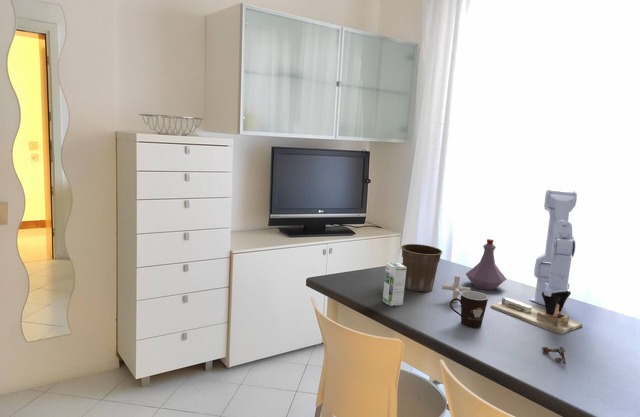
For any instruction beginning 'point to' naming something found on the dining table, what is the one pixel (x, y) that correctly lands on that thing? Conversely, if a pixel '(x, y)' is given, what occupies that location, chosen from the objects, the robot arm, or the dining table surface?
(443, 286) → the pipe connector
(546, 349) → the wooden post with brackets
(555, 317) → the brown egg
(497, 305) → the dock
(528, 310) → the lock pin
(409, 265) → the plant pot
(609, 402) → the dining table surface
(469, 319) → the coffee mug
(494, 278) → the flask
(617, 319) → the dining table surface
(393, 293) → the syrup box
